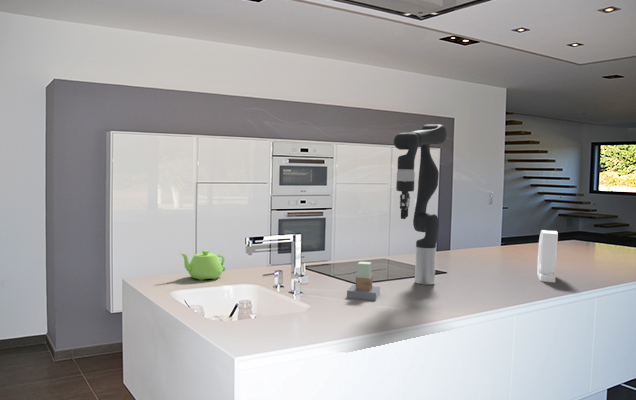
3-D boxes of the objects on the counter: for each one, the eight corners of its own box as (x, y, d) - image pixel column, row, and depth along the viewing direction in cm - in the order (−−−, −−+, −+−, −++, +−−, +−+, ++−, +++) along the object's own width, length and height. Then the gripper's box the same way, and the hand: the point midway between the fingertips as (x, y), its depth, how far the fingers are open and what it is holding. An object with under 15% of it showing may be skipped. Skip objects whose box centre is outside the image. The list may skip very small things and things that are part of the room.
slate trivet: (352, 291, 228) (352, 284, 228) (379, 293, 225) (380, 286, 225) (346, 297, 216) (347, 290, 216) (375, 300, 213) (375, 293, 213)
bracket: (540, 281, 260) (543, 231, 259) (536, 273, 280) (539, 226, 279) (555, 282, 258) (558, 232, 257) (550, 274, 278) (553, 227, 276)
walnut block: (358, 286, 224) (358, 275, 224) (372, 287, 223) (372, 276, 222) (355, 289, 218) (355, 277, 218) (369, 290, 217) (370, 279, 217)
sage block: (359, 275, 223) (359, 261, 223) (371, 276, 222) (371, 262, 222) (357, 277, 219) (357, 263, 218) (369, 278, 217) (369, 264, 217)
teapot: (184, 283, 235) (184, 254, 235) (175, 277, 248) (175, 249, 247) (230, 279, 247) (231, 251, 246) (219, 273, 259) (219, 247, 259)
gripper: (398, 179, 231) (397, 216, 232) (394, 180, 218) (393, 219, 219) (415, 179, 229) (414, 216, 231) (412, 180, 216) (411, 219, 217)
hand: (404, 217), depth 225 cm, fingers open, 8 cm apart
